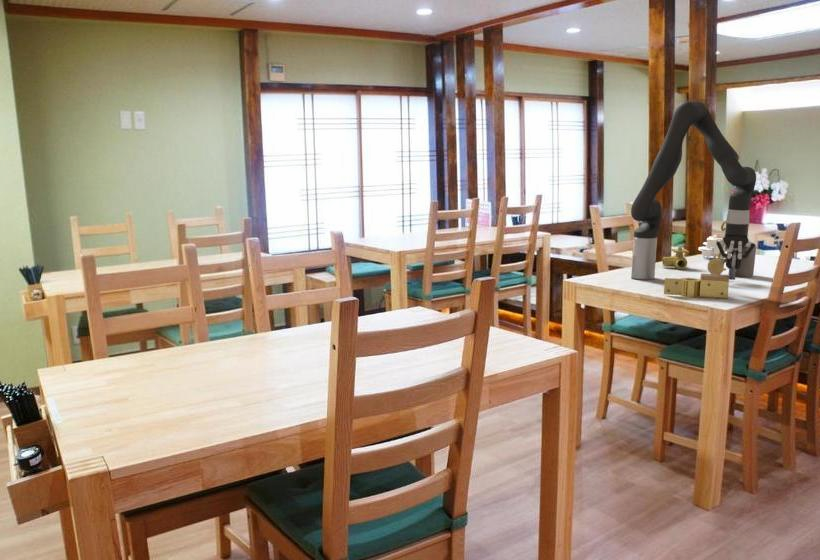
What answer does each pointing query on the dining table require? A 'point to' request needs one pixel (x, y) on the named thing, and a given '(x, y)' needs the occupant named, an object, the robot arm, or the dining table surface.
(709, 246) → the mechanical part
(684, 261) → the ball valve
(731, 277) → the hinge pin
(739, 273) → the pillar candle
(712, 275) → the hinge block
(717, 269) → the wall sconce
